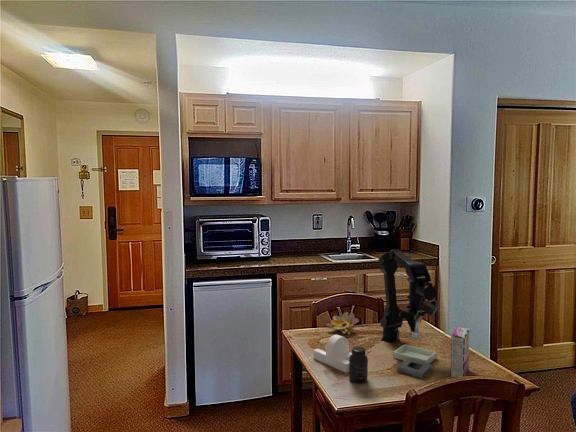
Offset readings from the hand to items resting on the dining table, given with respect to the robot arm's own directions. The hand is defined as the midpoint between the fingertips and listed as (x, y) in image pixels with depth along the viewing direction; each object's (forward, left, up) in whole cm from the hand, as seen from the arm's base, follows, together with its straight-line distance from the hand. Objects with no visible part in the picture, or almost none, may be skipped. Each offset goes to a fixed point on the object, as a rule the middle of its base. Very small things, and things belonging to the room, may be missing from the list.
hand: (415, 330), depth 174 cm
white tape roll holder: (-23, -24, -12) cm, 35 cm away
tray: (0, 0, -12) cm, 12 cm away
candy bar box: (+19, -3, -12) cm, 23 cm away
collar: (+5, -12, -12) cm, 17 cm away
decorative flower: (-41, +8, -12) cm, 43 cm away
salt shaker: (0, 0, -3) cm, 3 cm away
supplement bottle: (-8, -33, -12) cm, 36 cm away
